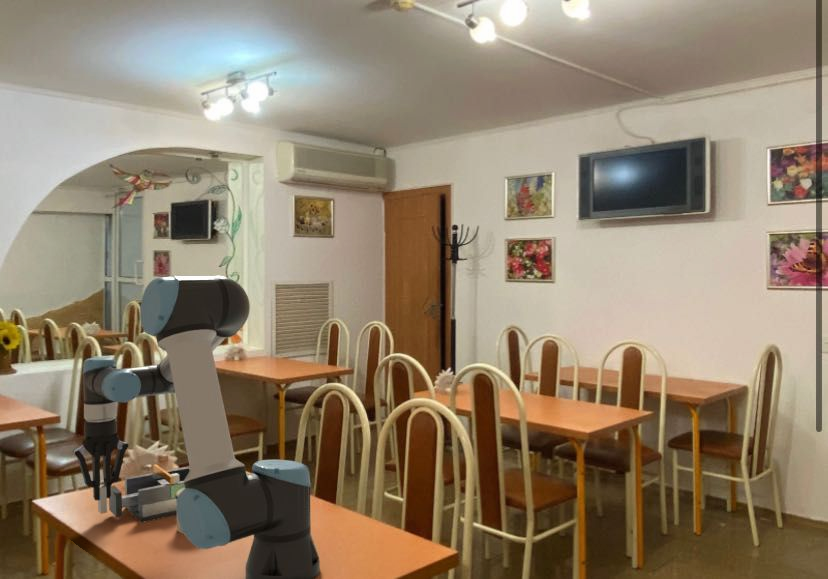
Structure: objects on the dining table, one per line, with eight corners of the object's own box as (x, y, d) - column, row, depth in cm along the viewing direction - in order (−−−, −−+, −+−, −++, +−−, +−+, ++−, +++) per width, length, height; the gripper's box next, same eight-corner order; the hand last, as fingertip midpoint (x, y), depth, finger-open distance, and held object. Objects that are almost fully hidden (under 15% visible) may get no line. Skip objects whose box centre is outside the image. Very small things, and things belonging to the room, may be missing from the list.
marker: (179, 482, 178) (179, 474, 178) (173, 483, 177) (173, 476, 177) (176, 480, 180) (176, 473, 180) (170, 481, 179) (170, 474, 179)
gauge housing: (210, 507, 183) (210, 477, 183) (140, 522, 172) (140, 491, 172) (192, 494, 195) (191, 466, 195) (125, 507, 184) (124, 478, 184)
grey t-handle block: (186, 507, 179) (185, 474, 179) (120, 521, 170) (119, 486, 169) (168, 493, 191) (168, 462, 191) (105, 505, 181) (105, 473, 181)
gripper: (123, 413, 180) (125, 502, 181) (69, 420, 172) (71, 513, 173) (131, 417, 174) (133, 510, 175) (75, 425, 166) (77, 521, 167)
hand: (102, 511), depth 174 cm, fingers closed
